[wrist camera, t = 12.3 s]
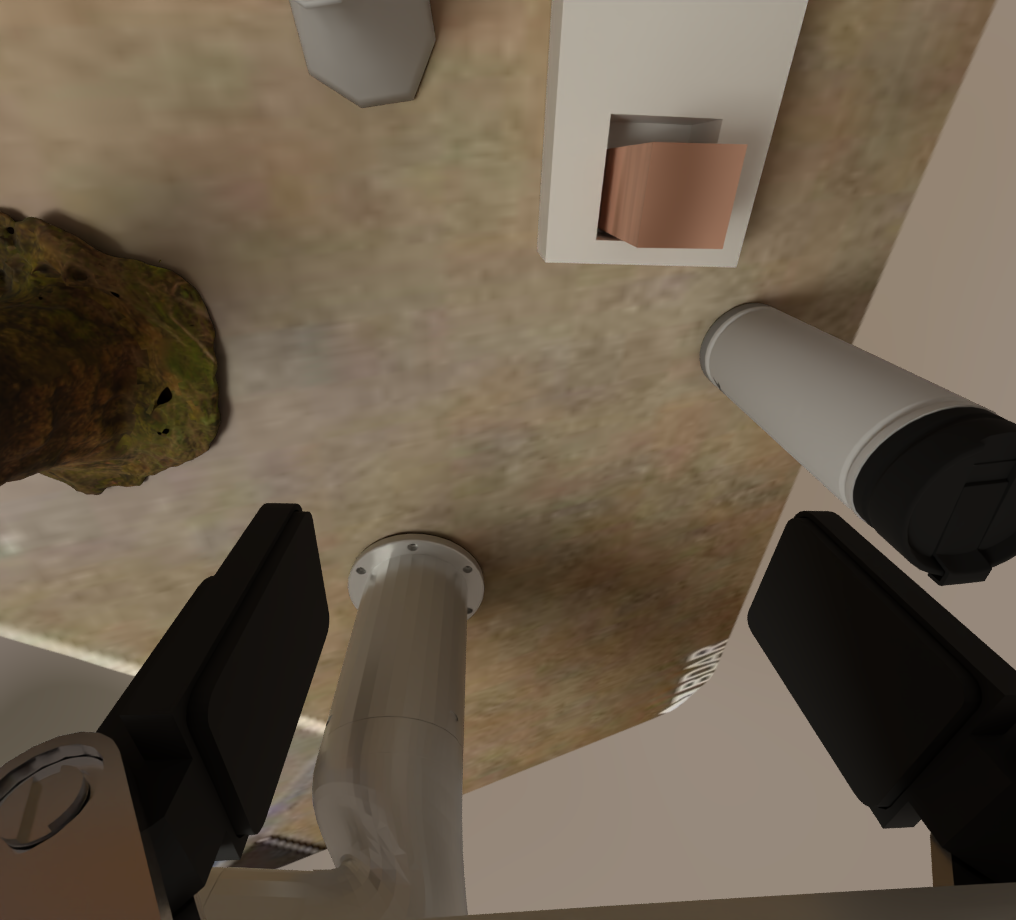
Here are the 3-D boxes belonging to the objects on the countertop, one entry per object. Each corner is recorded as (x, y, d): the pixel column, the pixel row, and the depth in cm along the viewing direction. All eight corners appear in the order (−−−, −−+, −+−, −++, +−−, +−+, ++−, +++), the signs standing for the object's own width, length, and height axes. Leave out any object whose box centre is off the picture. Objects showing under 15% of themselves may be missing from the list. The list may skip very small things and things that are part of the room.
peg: (672, 151, 27) (747, 144, 20) (659, 228, 29) (722, 248, 22) (603, 149, 27) (653, 141, 19) (595, 227, 29) (637, 247, 21)
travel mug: (693, 394, 36) (883, 596, 19) (703, 307, 33) (948, 458, 16) (774, 385, 36) (1038, 580, 19) (794, 297, 32) (1138, 437, 16)
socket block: (704, 254, 31) (736, 267, 27) (536, 250, 30) (545, 262, 26) (781, -79, 23) (842, -128, 19) (557, -95, 22) (573, -150, 18)
